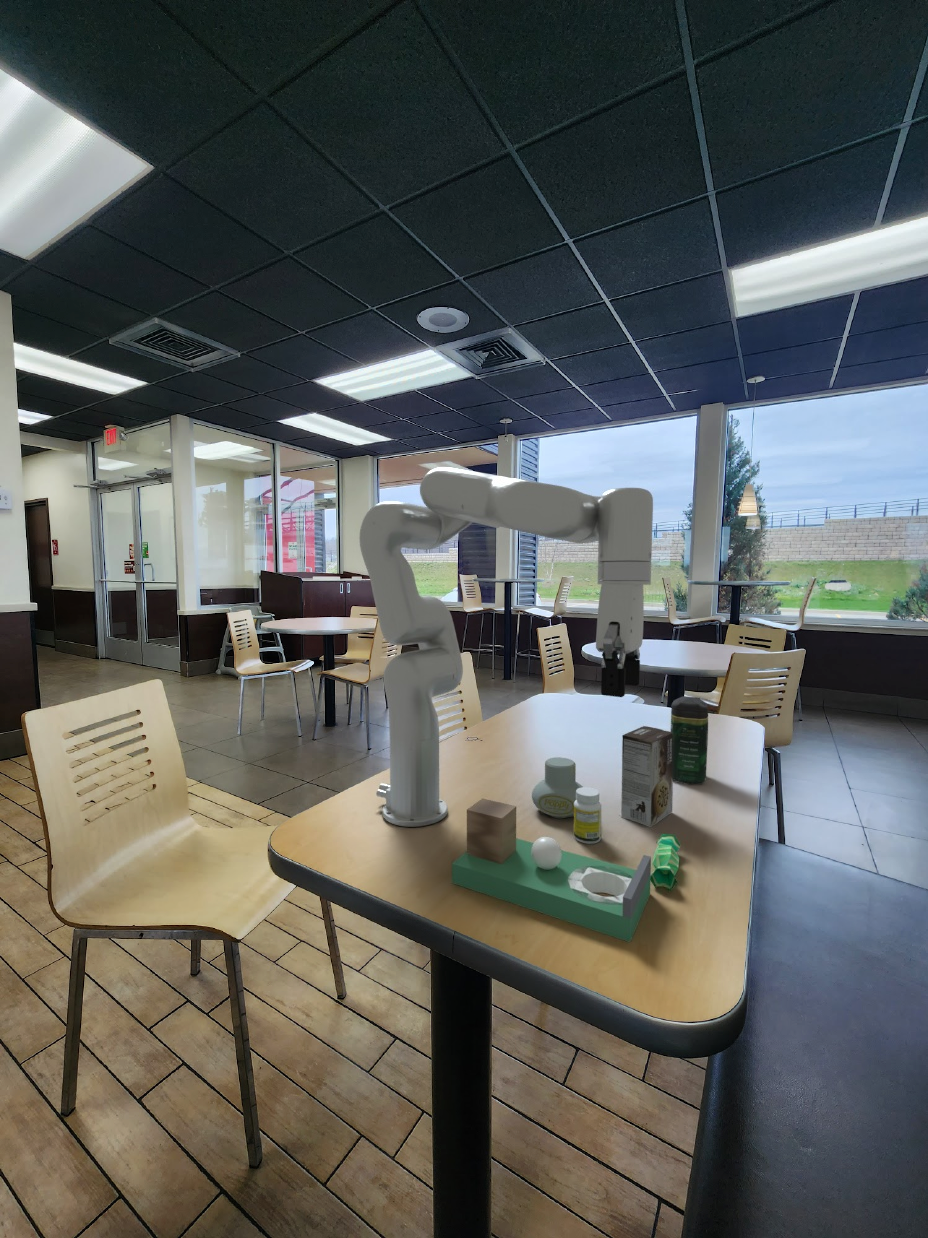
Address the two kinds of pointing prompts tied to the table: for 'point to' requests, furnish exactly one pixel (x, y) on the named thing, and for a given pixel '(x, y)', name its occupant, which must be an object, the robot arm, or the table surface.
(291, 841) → the table surface
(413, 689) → the robot arm
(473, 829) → the block
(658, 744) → the coffee box
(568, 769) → the air freshener
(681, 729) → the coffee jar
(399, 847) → the table surface
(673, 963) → the table surface
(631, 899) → the board
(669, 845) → the candy
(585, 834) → the supplement bottle
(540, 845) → the ball
